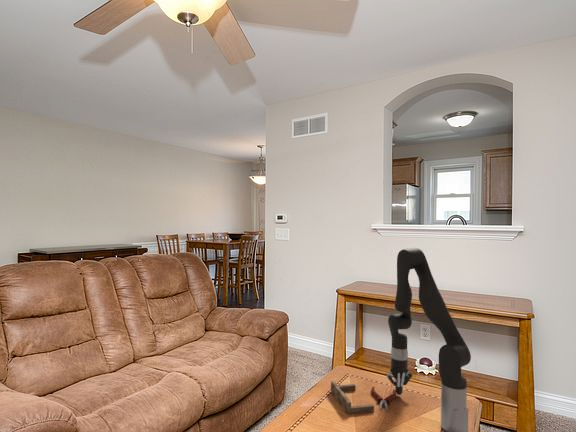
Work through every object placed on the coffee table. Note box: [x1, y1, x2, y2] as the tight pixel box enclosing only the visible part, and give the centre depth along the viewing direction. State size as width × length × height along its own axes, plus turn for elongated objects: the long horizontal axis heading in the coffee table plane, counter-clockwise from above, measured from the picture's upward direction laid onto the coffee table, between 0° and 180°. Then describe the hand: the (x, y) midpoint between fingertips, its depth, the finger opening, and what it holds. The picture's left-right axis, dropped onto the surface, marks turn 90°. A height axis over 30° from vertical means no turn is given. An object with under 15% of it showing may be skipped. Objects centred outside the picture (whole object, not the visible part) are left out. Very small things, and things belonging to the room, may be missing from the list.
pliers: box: [370, 386, 397, 412], centre depth 162 cm, size 12×20×3 cm, turn 165°
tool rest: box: [330, 380, 375, 415], centre depth 161 cm, size 21×12×5 cm, turn 13°
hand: (398, 393), depth 167 cm, fingers closed
